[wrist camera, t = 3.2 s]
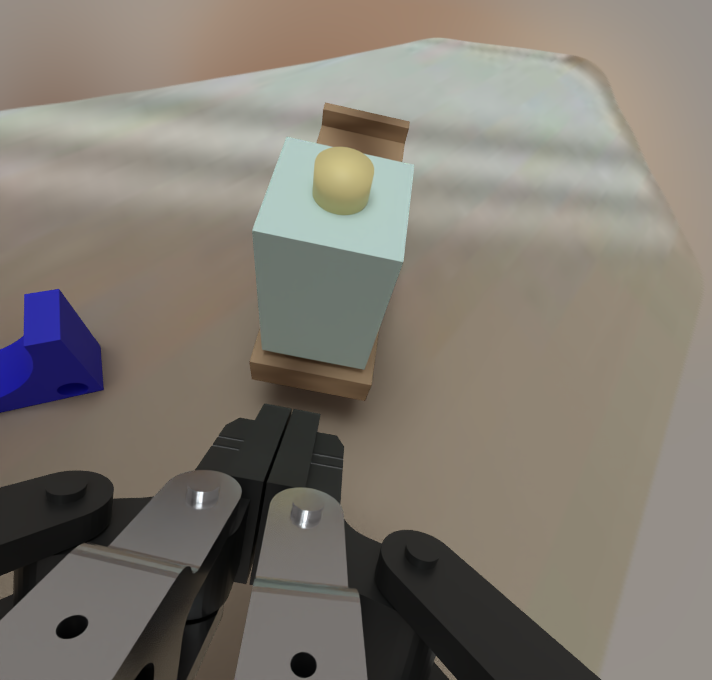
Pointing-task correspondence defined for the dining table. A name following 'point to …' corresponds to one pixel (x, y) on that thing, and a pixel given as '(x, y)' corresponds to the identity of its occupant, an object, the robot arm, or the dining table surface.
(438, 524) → the dining table surface
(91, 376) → the cable clip
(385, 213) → the block
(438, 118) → the dining table surface
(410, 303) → the dining table surface
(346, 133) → the beam
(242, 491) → the robot arm
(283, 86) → the dining table surface
